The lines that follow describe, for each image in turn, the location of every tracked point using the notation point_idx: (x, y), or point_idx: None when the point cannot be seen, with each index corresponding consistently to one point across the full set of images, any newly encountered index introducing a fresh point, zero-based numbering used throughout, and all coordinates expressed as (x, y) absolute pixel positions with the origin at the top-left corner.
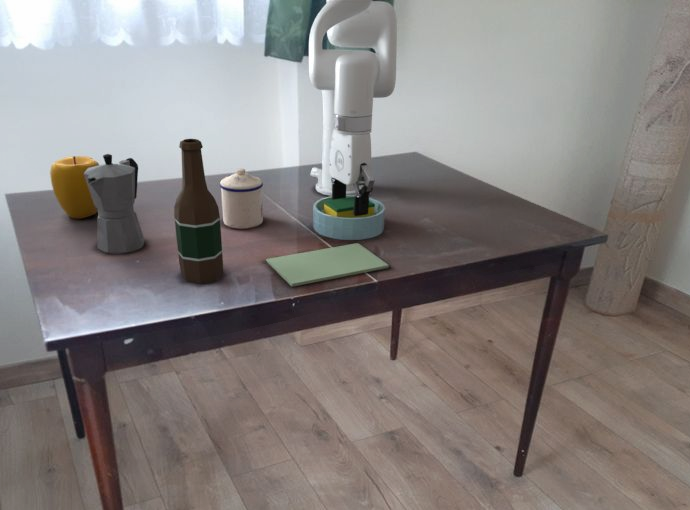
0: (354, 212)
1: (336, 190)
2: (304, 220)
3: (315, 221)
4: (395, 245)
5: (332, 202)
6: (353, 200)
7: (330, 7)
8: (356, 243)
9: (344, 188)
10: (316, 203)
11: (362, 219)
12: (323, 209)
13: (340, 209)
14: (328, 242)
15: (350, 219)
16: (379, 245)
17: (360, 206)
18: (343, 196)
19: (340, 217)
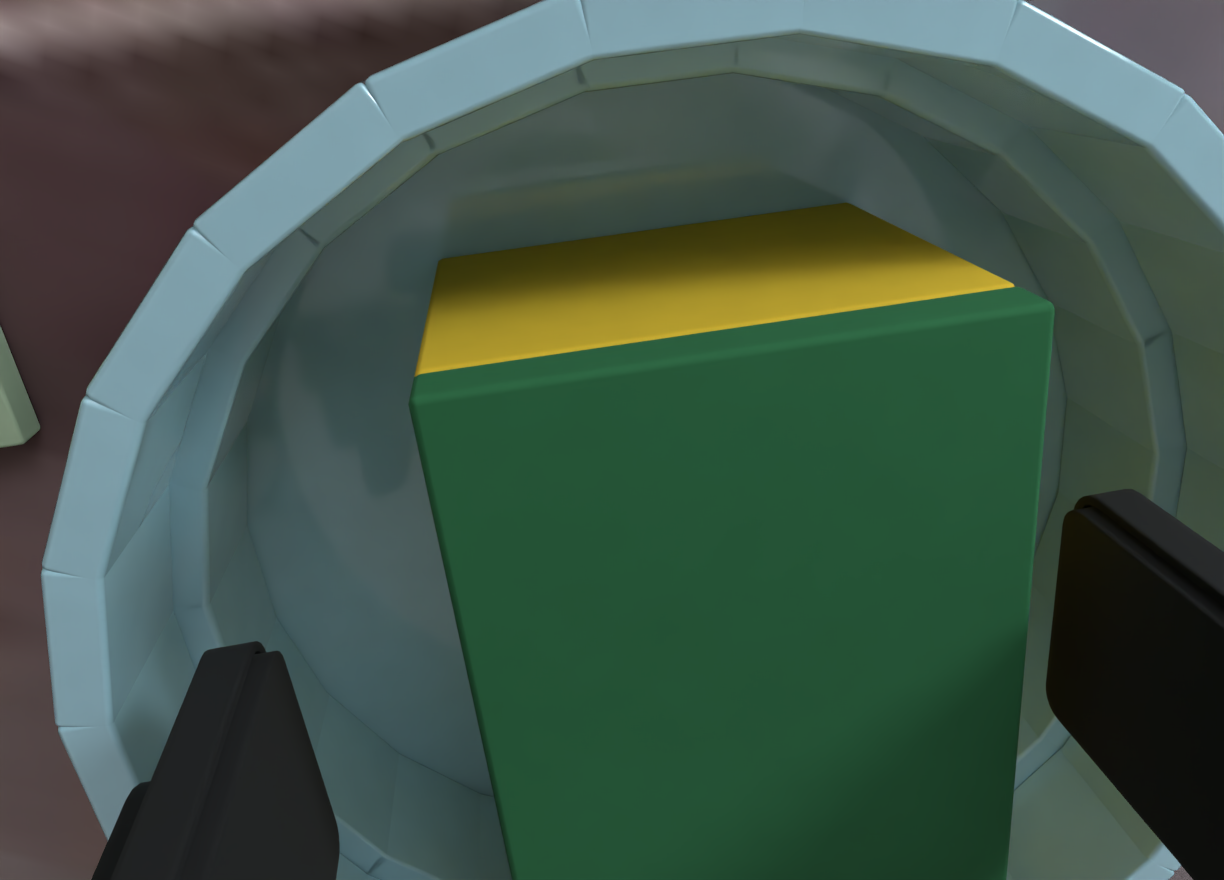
0: (193, 679)
1: (1217, 685)
2: (1212, 2)
3: None
4: (23, 819)
5: (878, 441)
6: (829, 817)
7: None
8: (3, 418)
9: (1200, 853)
10: (1159, 146)
11: (67, 714)
12: (1158, 316)
13: (426, 474)
14: (232, 56)
15: (56, 522)
16: (37, 670)
17: (100, 870)
18: (1096, 721)
19: (159, 364)
